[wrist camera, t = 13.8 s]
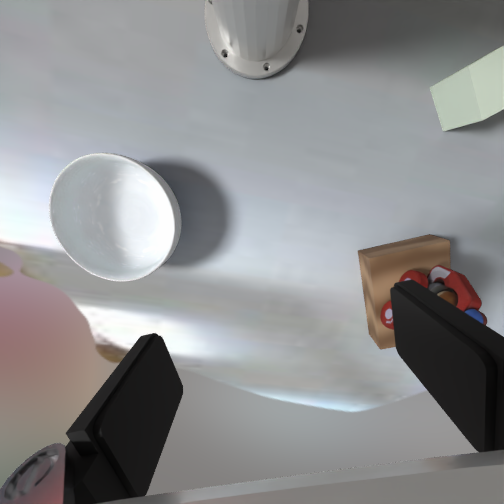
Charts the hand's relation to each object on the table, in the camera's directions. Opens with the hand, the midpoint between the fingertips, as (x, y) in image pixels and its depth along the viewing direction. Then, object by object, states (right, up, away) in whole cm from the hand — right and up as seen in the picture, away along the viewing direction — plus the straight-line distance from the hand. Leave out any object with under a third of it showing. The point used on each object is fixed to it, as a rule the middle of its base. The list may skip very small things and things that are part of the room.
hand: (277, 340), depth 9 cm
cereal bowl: (-19, +9, +28) cm, 35 cm away
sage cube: (+26, +24, +22) cm, 42 cm away
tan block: (+23, -2, +29) cm, 38 cm away
